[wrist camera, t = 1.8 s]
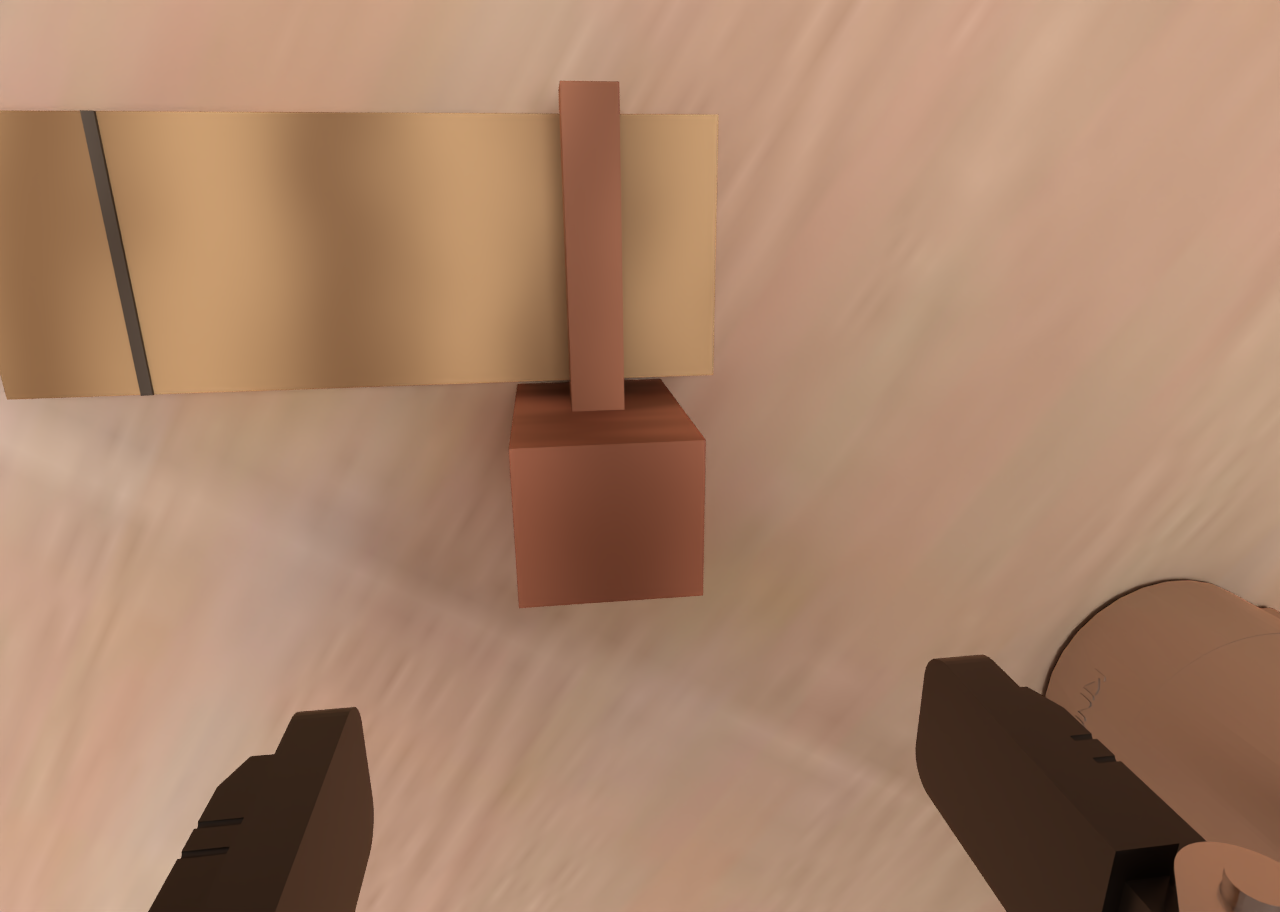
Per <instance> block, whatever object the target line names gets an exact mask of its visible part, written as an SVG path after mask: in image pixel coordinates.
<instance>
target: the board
mask: <svg viewBox="0 0 1280 912" xmlns="http://www.w3.org/2000/svg"><path fill="white" fill-rule="evenodd" d="M717 155H718V115H696V114H620V162H621V223H622V285H623V347H624V378H639V377H667V376H696V375H713V355H714V305H715V255H716V205H717ZM0 375H1V379H2V382H3V386H4V390H5V394H6V397H7V399H36V398H64V397H93V396H122V395H141V396H144V395H154V394H179V393H208V392H237V391H265V390H294V389H323V388H352V387H380V386H409V385H438V384H466V383H495V382H524V381H553V380H570V377H569V351H568V325H567V298H566V272H565V246H564V220H563V194H562V167H561V141H560V115H559V114H514V113H332V112H149V111H0Z"/></svg>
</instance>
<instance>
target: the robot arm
mask: <svg viewBox="0 0 1280 912" xmlns="http://www.w3.org/2000/svg"><path fill="white" fill-rule="evenodd" d="M916 762H917V768H918V772H919V776H920V779H921V782H922V784H923V787H924V789H925V791H926V792H927V794H928V796H929V797H930V799H931V800H932V802H933V803H934V805H935V806H936V808H937V809H938V811H939V812H940V814H941V815H942V817H943V818H944V820H945V821H946V822H947V824H948V825H949V827H950V828H951V830H952V831H953V833H954V834H955V836H956V837H957V839H958V840H959V842H960V843H961V845H962V846H963V848H964V849H965V851H966V852H967V854H968V855H969V857H970V858H971V860H972V861H973V862H974V864H975V865H976V867H977V868H978V870H979V871H980V873H981V874H982V876H983V877H984V879H985V880H986V882H987V883H988V885H989V886H990V888H991V889H992V891H993V892H994V894H995V895H996V897H997V898H998V900H999V901H1000V902H1001V904H1002V905H1003V907H1004V908H1005V910H1006V911H1007V912H1280V612H1279V611H1277V610H1275V609H1273V608H1259V607H1257V606H1255V605H1253V604H1252V603H1250V602H1248V601H1246V600H1244V599H1242V598H1241V597H1239V596H1237V595H1235V594H1233V593H1231V592H1230V591H1227V590H1225V589H1223V588H1220V587H1218V586H1216V585H1214V584H1211V583H1205V582H1199V581H1193V580H1183V581H1167V582H1163V583H1159V584H1155V585H1151V586H1147V587H1144V588H1141V589H1139V590H1137V591H1135V592H1132V593H1130V594H1128V595H1126V596H1124V597H1121V598H1119V599H1118V600H1116V601H1115V602H1113V603H1112V604H1110V605H1109V606H1107V607H1106V608H1104V609H1103V610H1102V611H1100V612H1099V613H1097V614H1096V615H1095V616H1094V617H1093V618H1092V619H1091V620H1090V621H1089V622H1088V623H1087V624H1086V625H1084V626H1083V627H1082V628H1081V629H1080V630H1079V631H1078V632H1077V634H1076V635H1075V636H1074V638H1073V639H1072V640H1071V642H1070V643H1069V644H1068V646H1067V647H1066V648H1065V650H1064V651H1063V652H1062V654H1061V656H1060V658H1059V660H1058V662H1057V664H1056V666H1055V668H1054V670H1053V672H1052V675H1051V678H1050V682H1049V685H1048V688H1047V692H1046V697H1044V696H1042V695H1041V694H1039V693H1037V692H1035V691H1034V690H1032V689H1030V688H1028V687H1019V686H1018V685H1017V684H1016V683H1015V682H1014V681H1013V680H1012V679H1011V678H1010V677H1009V676H1008V675H1007V674H1006V673H1005V672H1004V671H1003V670H1002V669H1001V668H1000V667H999V666H998V665H997V664H996V663H995V662H994V661H993V660H992V659H990V658H989V657H987V656H985V655H973V656H962V657H950V658H938V659H932V660H931V661H930V662H929V663H928V665H927V667H926V670H925V675H924V683H923V691H922V699H921V707H920V715H919V724H918V732H917V740H916ZM373 823H374V808H373V797H372V790H371V783H370V776H369V769H368V762H367V756H366V749H365V742H364V735H363V728H362V721H361V717H360V713H359V711H358V709H357V708H356V707H350V708H339V709H327V710H315V711H304V712H297V713H295V714H294V716H293V717H292V719H291V721H290V723H289V725H288V727H287V729H286V731H285V733H284V735H283V737H282V740H281V742H280V744H279V746H278V748H277V750H276V752H275V754H272V755H261V756H251V757H249V758H248V759H247V760H246V761H245V762H244V763H243V764H242V765H241V766H240V767H239V768H238V769H236V770H235V771H234V772H233V773H232V774H231V775H230V776H229V777H228V778H227V779H226V780H225V781H223V782H222V783H221V784H220V785H219V786H218V787H217V789H216V790H215V792H214V794H213V796H212V798H211V799H210V801H209V803H208V805H207V807H206V808H205V810H204V812H203V814H202V816H201V817H200V819H199V821H198V828H197V829H194V830H193V832H192V834H191V836H190V837H189V839H188V841H187V843H186V845H185V846H184V848H183V850H182V856H181V859H177V861H176V863H175V864H174V866H173V868H172V870H171V872H170V874H169V875H168V877H167V879H166V881H165V883H164V884H163V886H162V888H161V890H160V892H159V893H158V895H157V897H156V899H155V901H154V902H153V904H152V906H151V908H150V910H149V911H148V912H355V909H356V905H357V901H358V897H359V893H360V890H361V886H362V882H363V878H364V874H365V870H366V866H367V862H368V858H369V855H370V850H371V844H372V837H373Z"/></svg>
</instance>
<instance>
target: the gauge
mask: <svg viewBox="0 0 1280 912" xmlns="http://www.w3.org/2000/svg"><path fill="white" fill-rule="evenodd" d="M559 115H560V141H561V167H562V194H563V220H564V246H565V272H566V298H567V325H568V351H569V377H570V382H560V383H531V384H518V385H517V392H516V400H515V407H514V414H513V422H512V429H511V436H510V444H509V460H510V476H511V491H512V507H513V522H514V538H515V553H516V569H517V584H518V600H519V608H526V607H541V606H555V605H570V604H584V603H599V602H614V601H628V600H643V599H657V598H672V597H686V596H701V595H703V564H704V506H705V447H706V440H705V439H704V437H703V436H702V435H701V433H700V432H699V430H698V429H697V428H696V426H695V425H694V424H693V422H692V421H691V420H690V418H689V417H688V416H687V414H686V413H685V412H684V410H683V409H682V407H681V406H680V405H679V403H678V402H677V401H676V399H675V398H674V397H673V395H672V394H671V393H670V391H669V390H668V389H667V387H666V386H665V384H664V383H663V382H662V380H661V379H645V380H624V347H623V285H622V223H621V162H620V100H619V82H607V81H560V84H559Z"/></svg>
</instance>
